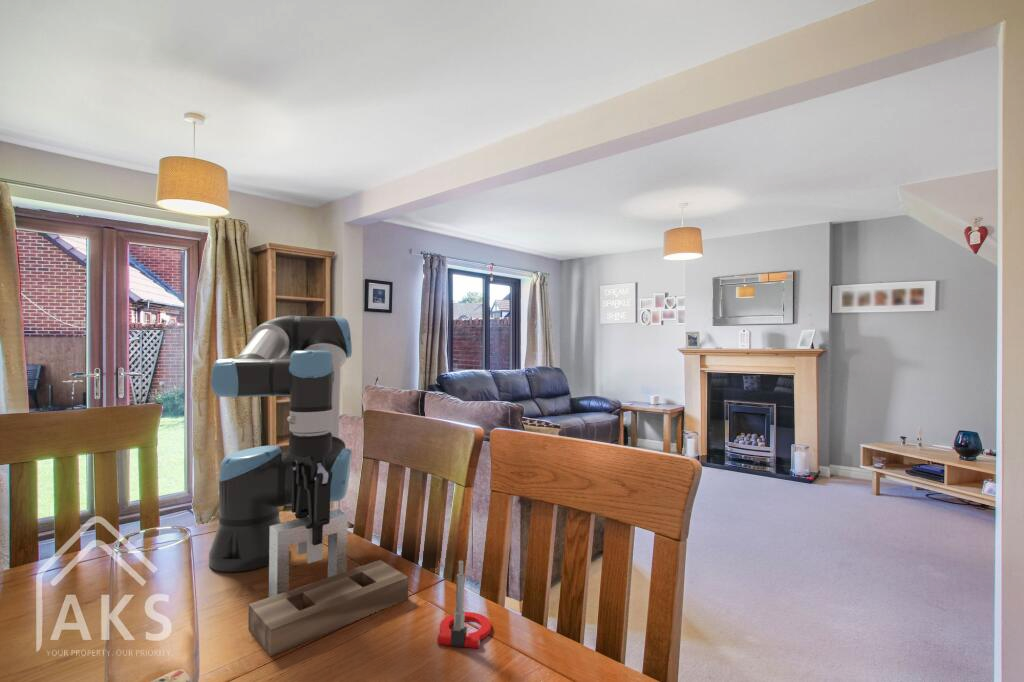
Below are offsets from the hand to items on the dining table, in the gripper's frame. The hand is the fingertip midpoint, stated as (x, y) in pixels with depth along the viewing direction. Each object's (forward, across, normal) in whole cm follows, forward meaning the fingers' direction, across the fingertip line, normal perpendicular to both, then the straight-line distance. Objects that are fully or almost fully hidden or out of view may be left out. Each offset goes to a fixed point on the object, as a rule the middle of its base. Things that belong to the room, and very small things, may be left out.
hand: (309, 556), depth 93 cm
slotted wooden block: (+7, +10, 0) cm, 12 cm away
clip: (+6, 0, 0) cm, 6 cm away
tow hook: (+7, +30, +13) cm, 33 cm away
